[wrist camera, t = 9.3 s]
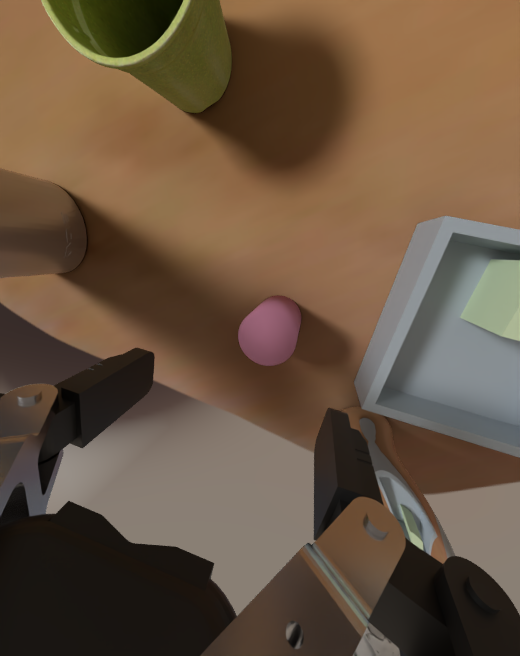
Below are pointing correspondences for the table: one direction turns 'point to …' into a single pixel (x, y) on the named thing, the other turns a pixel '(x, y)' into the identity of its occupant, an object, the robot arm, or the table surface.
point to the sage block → (497, 299)
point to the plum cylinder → (271, 331)
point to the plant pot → (153, 43)
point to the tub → (445, 341)
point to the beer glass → (396, 508)
